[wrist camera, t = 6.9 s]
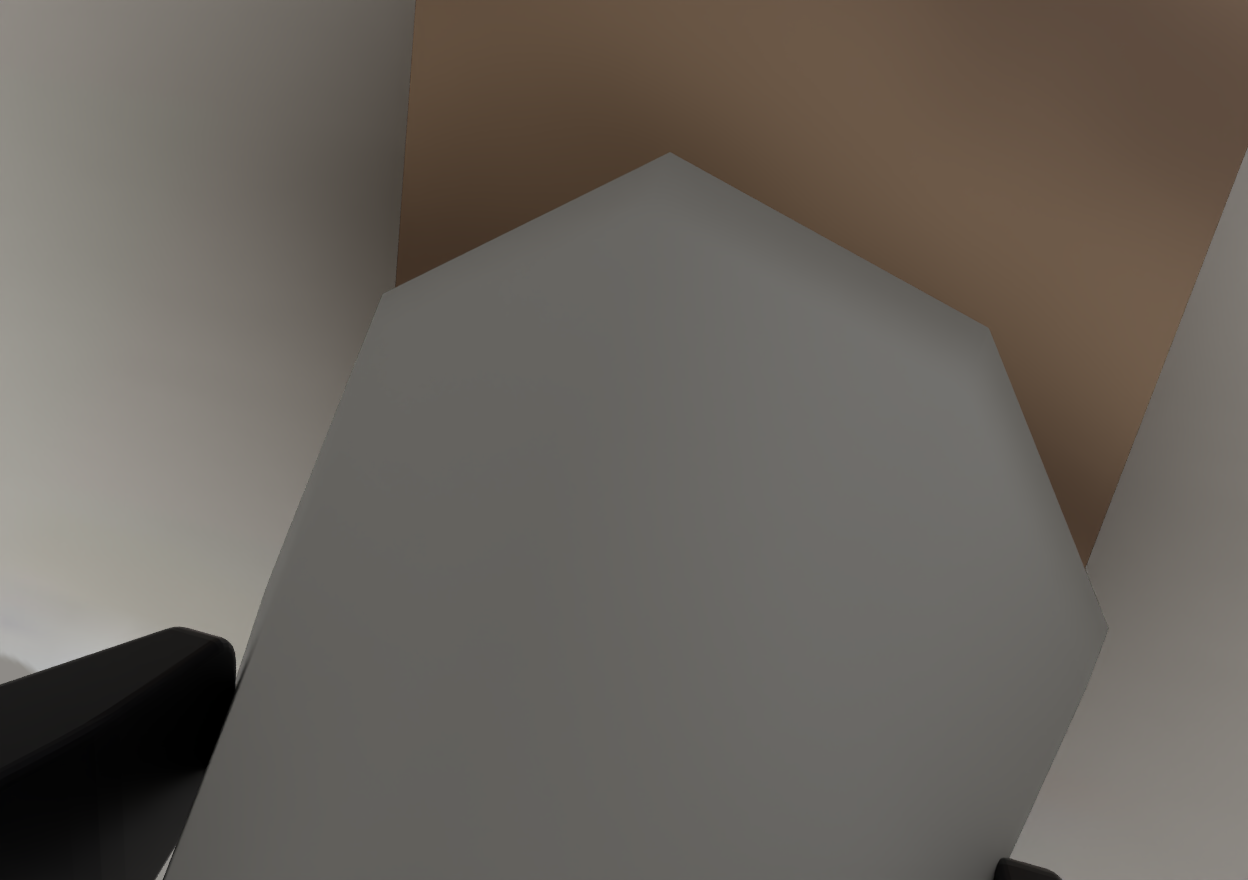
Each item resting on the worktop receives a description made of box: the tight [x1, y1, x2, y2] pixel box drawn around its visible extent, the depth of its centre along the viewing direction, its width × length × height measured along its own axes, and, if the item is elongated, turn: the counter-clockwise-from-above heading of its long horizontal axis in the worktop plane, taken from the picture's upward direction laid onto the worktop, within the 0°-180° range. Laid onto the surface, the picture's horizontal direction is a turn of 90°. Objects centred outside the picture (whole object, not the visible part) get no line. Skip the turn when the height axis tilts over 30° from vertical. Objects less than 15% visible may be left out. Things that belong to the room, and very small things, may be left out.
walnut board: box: [395, 0, 1248, 568], centre depth 18 cm, size 18×12×1 cm, turn 171°
